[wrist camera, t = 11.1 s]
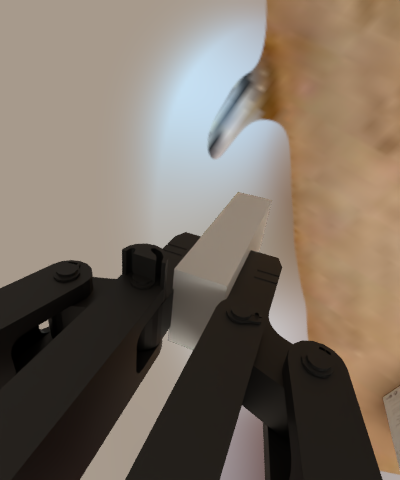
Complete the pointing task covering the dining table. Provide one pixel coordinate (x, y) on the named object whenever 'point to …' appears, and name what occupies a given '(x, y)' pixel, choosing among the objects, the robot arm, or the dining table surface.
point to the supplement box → (394, 418)
